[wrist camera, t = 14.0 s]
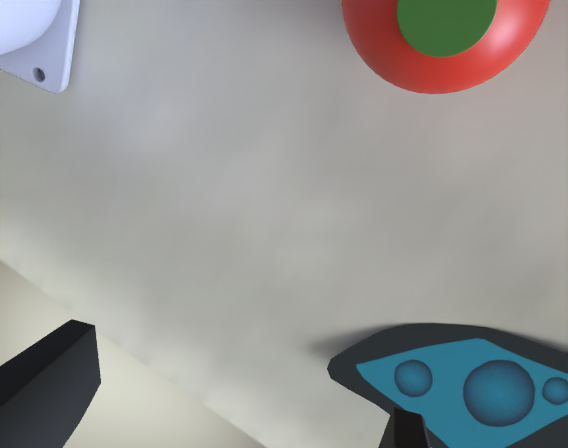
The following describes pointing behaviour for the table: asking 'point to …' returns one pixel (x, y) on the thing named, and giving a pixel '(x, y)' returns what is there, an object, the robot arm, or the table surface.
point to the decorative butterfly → (463, 384)
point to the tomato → (441, 39)
